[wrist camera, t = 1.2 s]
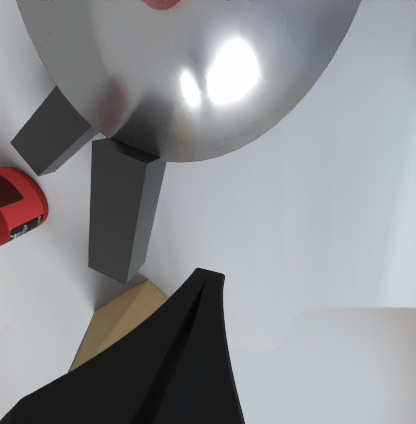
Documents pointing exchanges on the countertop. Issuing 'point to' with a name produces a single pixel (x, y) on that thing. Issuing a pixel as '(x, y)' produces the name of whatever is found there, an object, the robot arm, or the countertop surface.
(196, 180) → the countertop surface
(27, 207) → the canned food
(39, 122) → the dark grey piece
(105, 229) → the cooker lid
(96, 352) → the sandwich container
